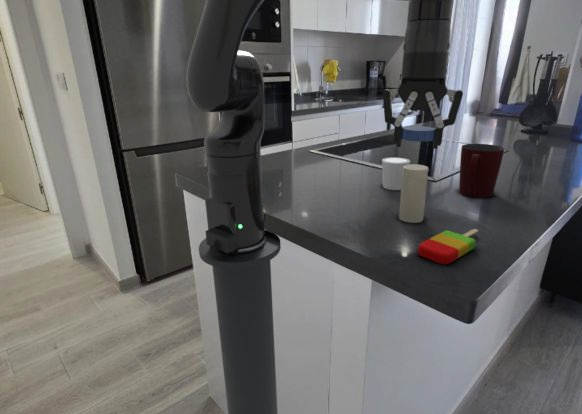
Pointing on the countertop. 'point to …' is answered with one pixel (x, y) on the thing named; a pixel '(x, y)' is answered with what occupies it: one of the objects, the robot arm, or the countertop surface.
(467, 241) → the popsicle
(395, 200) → the countertop surface
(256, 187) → the robot arm
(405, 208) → the jar
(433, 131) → the lid
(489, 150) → the mug
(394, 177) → the white short cylinder
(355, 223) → the countertop surface
